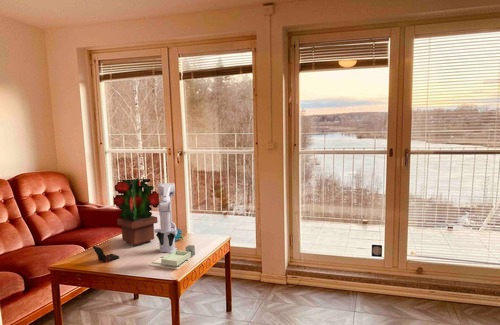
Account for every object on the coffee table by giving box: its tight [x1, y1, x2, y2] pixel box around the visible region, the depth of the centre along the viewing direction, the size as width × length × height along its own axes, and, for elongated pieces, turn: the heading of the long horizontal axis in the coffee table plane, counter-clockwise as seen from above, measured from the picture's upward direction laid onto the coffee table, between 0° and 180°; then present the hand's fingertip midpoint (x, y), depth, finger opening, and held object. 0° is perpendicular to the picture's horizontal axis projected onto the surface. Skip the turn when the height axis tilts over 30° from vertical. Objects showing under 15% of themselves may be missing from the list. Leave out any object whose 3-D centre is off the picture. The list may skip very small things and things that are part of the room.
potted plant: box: [112, 177, 160, 247], centre depth 234 cm, size 22×22×45 cm
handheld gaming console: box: [92, 245, 120, 264], centre depth 203 cm, size 9×12×10 cm
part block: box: [185, 244, 196, 258], centre depth 208 cm, size 4×4×6 cm
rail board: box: [149, 255, 191, 270], centre depth 197 cm, size 19×14×1 cm
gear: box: [175, 228, 184, 242], centre depth 241 cm, size 11×6×10 cm
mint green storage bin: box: [161, 249, 192, 266], centre depth 195 cm, size 10×15×4 cm
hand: (166, 245), depth 196 cm, fingers open, 5 cm apart
